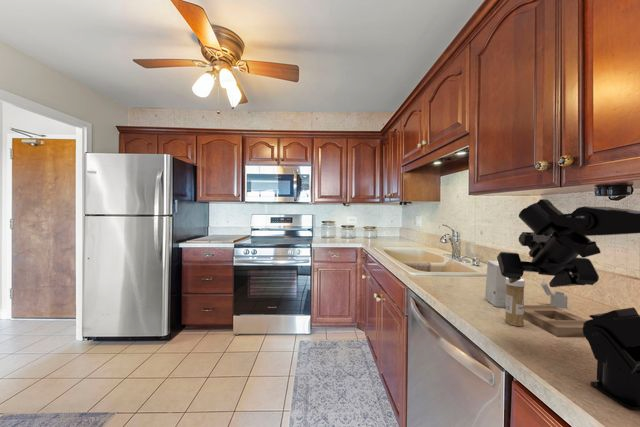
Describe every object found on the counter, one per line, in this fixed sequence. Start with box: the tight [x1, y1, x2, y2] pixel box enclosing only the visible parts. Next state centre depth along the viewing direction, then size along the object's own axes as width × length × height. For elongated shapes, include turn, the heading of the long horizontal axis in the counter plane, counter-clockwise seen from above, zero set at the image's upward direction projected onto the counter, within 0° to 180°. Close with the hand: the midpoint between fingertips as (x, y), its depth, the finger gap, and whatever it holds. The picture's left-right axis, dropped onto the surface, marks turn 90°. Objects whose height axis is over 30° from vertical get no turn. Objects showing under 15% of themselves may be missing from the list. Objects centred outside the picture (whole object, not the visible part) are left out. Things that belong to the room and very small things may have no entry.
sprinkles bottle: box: [504, 277, 526, 327], centre depth 77 cm, size 5×5×13 cm
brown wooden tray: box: [523, 304, 588, 338], centre depth 77 cm, size 16×13×2 cm
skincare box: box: [484, 259, 506, 308], centre depth 93 cm, size 8×6×15 cm
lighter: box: [540, 282, 569, 310], centre depth 91 cm, size 7×2×8 cm, turn 65°
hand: (529, 283), depth 69 cm, fingers open, 9 cm apart
